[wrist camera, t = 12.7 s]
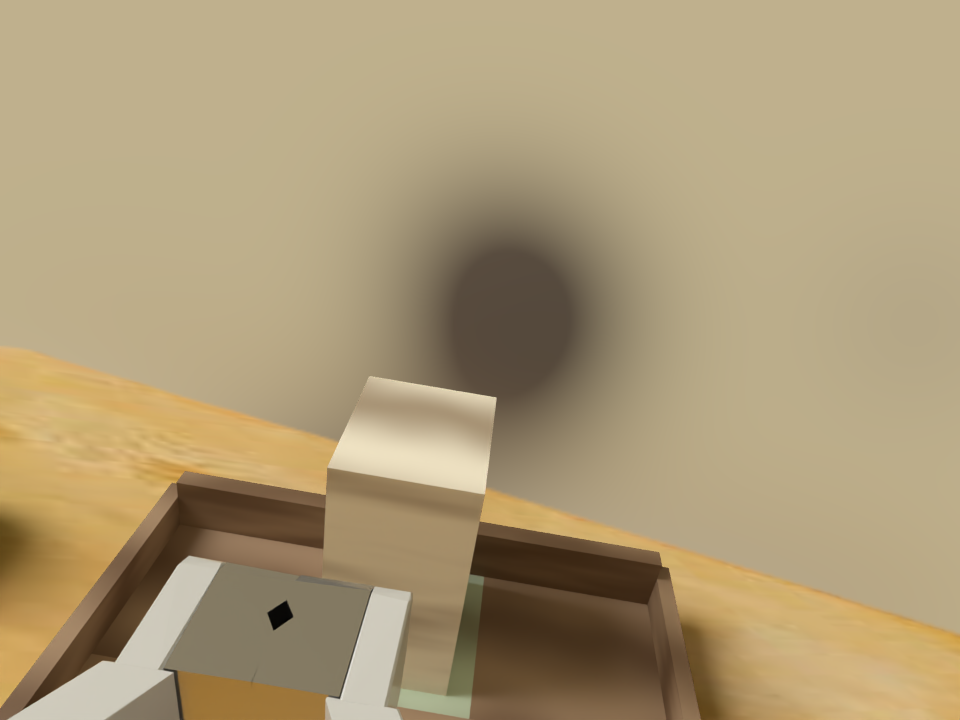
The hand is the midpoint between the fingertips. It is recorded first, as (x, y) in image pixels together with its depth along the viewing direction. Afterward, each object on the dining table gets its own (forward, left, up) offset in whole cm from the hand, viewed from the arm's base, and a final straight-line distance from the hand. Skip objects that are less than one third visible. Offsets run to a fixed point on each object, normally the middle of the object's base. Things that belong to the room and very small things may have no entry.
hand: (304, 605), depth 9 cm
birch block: (+14, -10, -21) cm, 27 cm away
